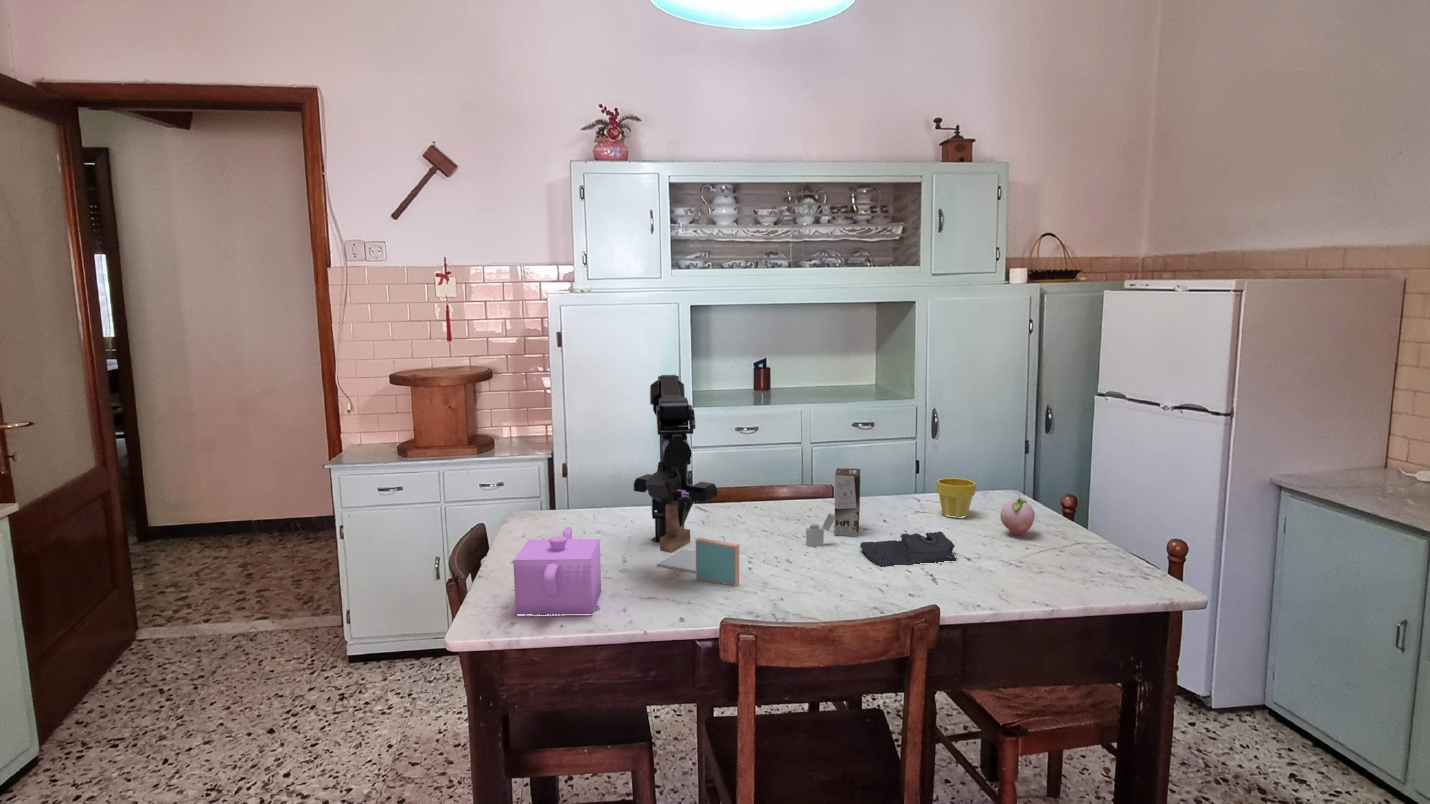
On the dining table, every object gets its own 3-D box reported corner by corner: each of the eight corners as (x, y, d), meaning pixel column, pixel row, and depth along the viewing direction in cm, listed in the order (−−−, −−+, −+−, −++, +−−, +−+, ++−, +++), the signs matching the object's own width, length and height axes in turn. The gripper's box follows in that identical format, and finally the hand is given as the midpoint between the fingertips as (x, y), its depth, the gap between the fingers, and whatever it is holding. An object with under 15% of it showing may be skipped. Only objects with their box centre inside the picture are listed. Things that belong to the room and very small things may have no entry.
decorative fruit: (1001, 528, 214) (1003, 491, 213) (1034, 532, 211) (1036, 495, 209) (997, 538, 206) (999, 500, 204) (1031, 542, 202) (1033, 503, 201)
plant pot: (948, 508, 234) (949, 475, 232) (981, 515, 226) (982, 481, 225) (928, 515, 227) (929, 481, 225) (961, 523, 219) (962, 488, 218)
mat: (657, 565, 187) (657, 563, 187) (683, 550, 197) (683, 549, 197) (702, 574, 181) (702, 572, 181) (726, 558, 191) (726, 556, 191)
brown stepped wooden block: (660, 550, 177) (659, 507, 176) (679, 540, 184) (678, 498, 183) (671, 553, 176) (671, 508, 174) (690, 542, 183) (689, 499, 181)
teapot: (605, 579, 178) (603, 518, 176) (589, 626, 154) (587, 556, 152) (536, 580, 178) (534, 519, 176) (509, 627, 154) (506, 557, 152)
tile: (695, 579, 178) (695, 539, 177) (699, 576, 180) (698, 537, 179) (735, 586, 174) (735, 546, 172) (739, 584, 175) (739, 544, 174)
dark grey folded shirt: (852, 549, 199) (853, 530, 199) (934, 543, 204) (935, 525, 203) (877, 570, 184) (877, 550, 184) (965, 563, 189) (965, 543, 188)
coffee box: (858, 537, 207) (860, 476, 205) (833, 535, 209) (834, 475, 206) (859, 526, 216) (860, 468, 214) (835, 525, 217) (836, 467, 215)
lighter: (807, 546, 200) (807, 515, 199) (805, 544, 202) (806, 513, 201) (835, 545, 201) (835, 514, 199) (833, 543, 202) (834, 512, 201)
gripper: (618, 459, 174) (619, 528, 177) (692, 469, 165) (692, 541, 168) (647, 449, 184) (648, 515, 186) (718, 458, 175) (718, 527, 177)
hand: (675, 524), depth 179 cm, fingers closed on brown stepped wooden block, 3 cm apart
